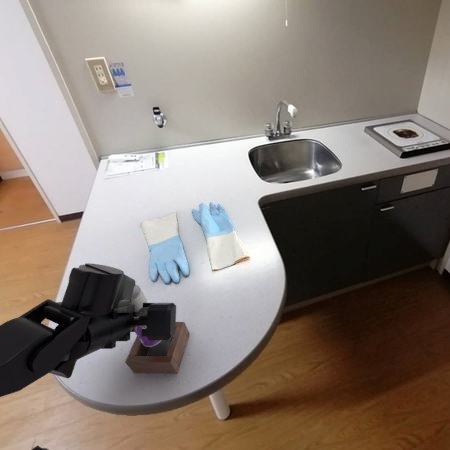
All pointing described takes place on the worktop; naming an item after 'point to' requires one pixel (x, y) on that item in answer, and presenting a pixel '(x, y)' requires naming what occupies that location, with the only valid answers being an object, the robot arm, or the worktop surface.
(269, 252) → the worktop surface
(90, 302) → the robot arm
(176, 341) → the frame
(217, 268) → the rubber gloves
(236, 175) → the worktop surface
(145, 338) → the container
